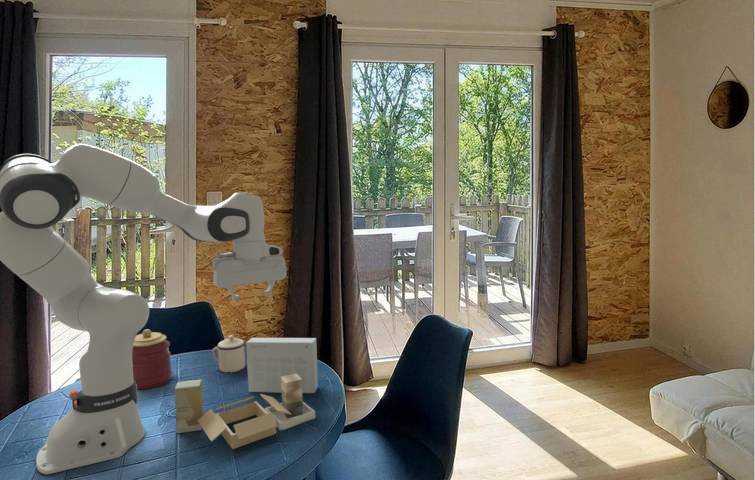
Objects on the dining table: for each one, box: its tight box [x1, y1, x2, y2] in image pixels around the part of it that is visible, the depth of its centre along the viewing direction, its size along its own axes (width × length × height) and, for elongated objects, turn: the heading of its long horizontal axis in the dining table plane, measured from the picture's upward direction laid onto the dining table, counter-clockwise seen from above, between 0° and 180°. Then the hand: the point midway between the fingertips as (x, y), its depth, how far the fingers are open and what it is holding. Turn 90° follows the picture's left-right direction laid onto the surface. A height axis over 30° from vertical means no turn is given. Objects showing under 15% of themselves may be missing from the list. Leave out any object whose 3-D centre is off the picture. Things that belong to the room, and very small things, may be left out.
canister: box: [132, 328, 173, 390], centre depth 145 cm, size 13×13×18 cm
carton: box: [197, 393, 291, 450], centre depth 114 cm, size 20×19×6 cm
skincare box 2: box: [245, 337, 319, 394], centre depth 137 cm, size 21×6×16 cm, turn 84°
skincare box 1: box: [174, 379, 204, 434], centre depth 116 cm, size 6×4×12 cm
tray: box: [263, 401, 316, 432], centre depth 121 cm, size 10×10×2 cm
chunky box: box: [281, 374, 304, 418], centre depth 122 cm, size 4×4×10 cm
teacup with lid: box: [211, 334, 246, 373], centre depth 155 cm, size 12×9×12 cm
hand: (252, 298), depth 126 cm, fingers open, 8 cm apart
